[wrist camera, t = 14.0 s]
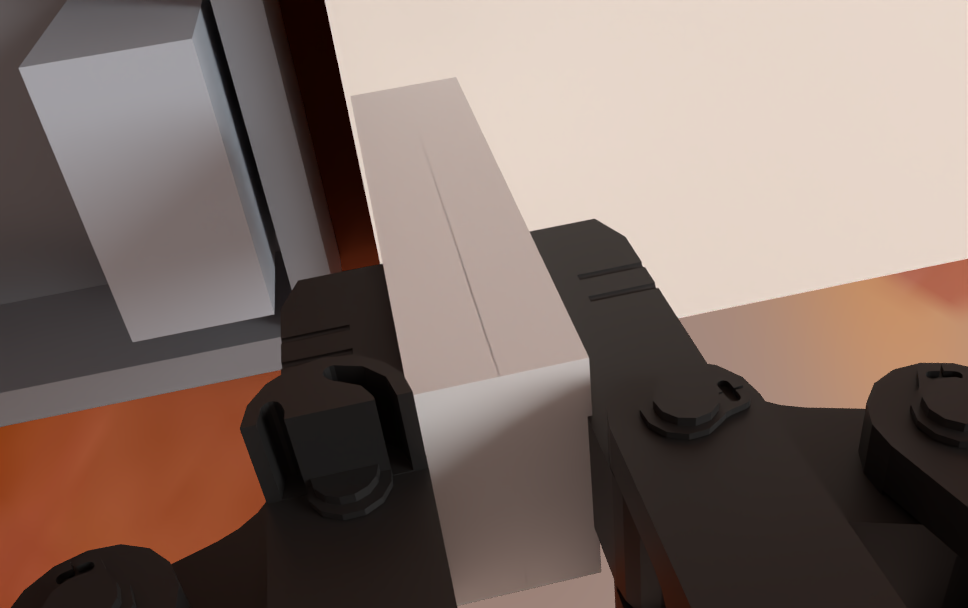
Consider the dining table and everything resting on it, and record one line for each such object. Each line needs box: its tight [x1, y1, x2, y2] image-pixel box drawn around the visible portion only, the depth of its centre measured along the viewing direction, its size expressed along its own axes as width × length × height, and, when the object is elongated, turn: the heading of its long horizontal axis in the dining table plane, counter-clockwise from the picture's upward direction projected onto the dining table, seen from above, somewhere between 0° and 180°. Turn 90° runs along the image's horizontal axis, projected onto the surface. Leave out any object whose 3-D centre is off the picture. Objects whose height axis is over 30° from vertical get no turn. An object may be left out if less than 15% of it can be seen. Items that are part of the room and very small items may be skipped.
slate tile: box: [19, 0, 275, 342], centre depth 17 cm, size 5×5×2 cm
